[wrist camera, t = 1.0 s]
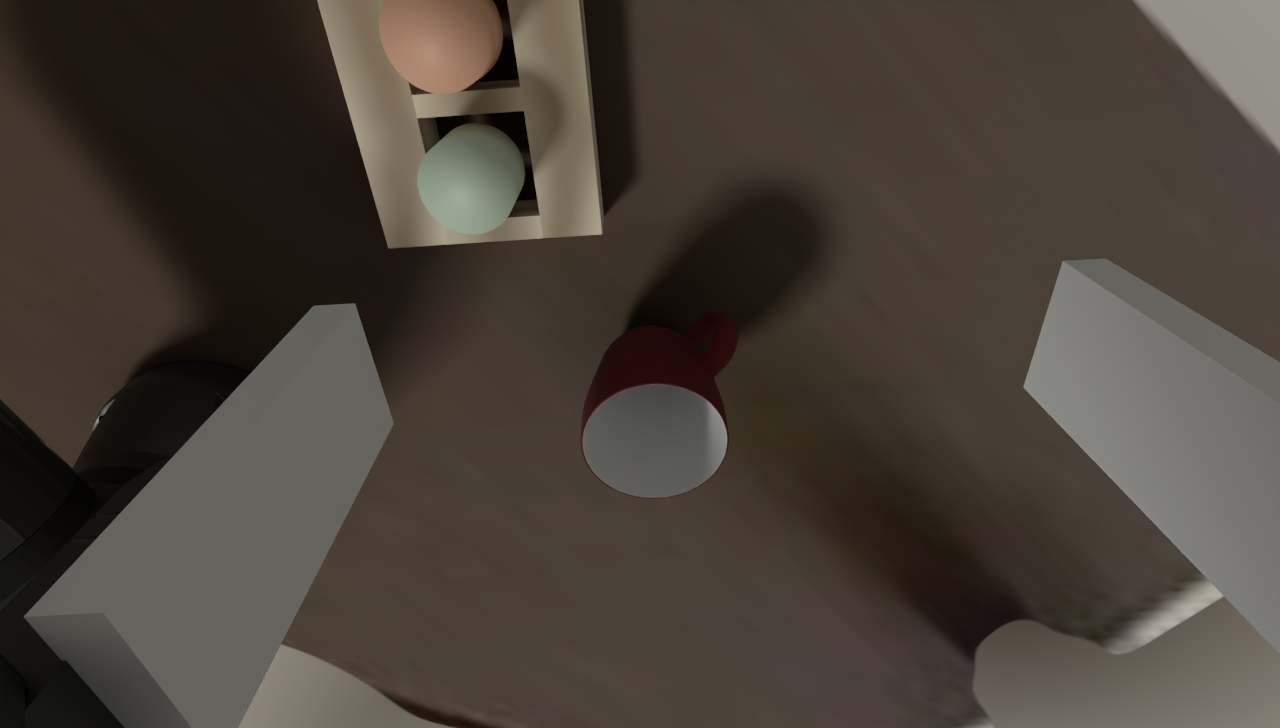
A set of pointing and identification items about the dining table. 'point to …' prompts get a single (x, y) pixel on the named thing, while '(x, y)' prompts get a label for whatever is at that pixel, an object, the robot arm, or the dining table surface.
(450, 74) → the button terracotta
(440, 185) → the button sage
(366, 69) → the button board
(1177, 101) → the dining table surface
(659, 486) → the mug
